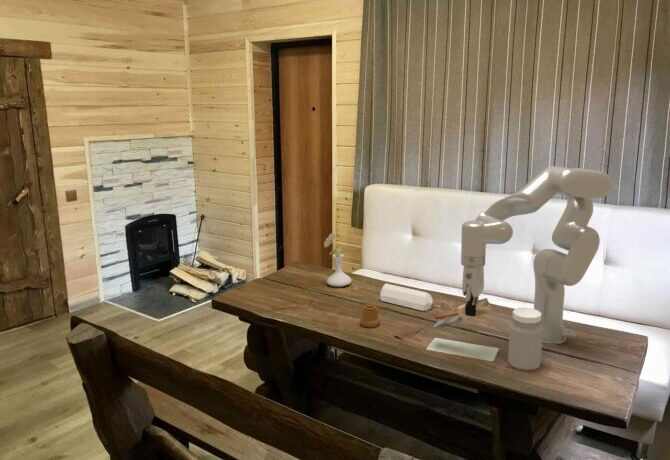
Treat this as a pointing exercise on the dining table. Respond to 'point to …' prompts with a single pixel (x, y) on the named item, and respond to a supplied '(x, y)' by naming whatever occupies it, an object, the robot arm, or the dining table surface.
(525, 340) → the jar
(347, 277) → the flower in vase
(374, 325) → the ornamental finial
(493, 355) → the board
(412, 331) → the wood plank
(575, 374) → the dining table surface
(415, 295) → the crystal
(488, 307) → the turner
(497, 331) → the dining table surface
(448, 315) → the axe
